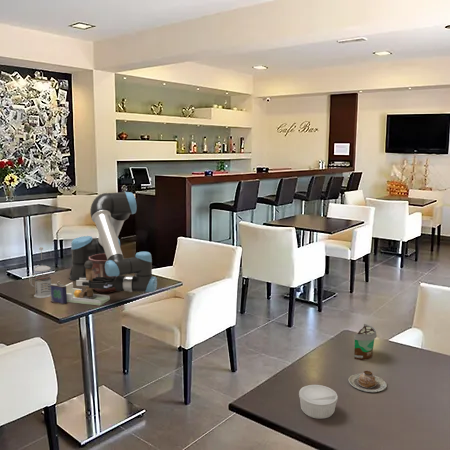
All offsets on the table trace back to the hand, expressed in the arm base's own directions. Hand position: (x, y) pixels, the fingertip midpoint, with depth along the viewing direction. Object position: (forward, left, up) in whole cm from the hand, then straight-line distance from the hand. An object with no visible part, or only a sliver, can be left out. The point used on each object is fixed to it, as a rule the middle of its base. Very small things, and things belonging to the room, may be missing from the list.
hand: (78, 281), depth 237 cm
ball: (-1, -1, -7) cm, 7 cm away
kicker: (-1, +5, -8) cm, 9 cm away
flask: (+5, -7, -10) cm, 13 cm away
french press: (-2, -23, -10) cm, 25 cm away
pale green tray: (-1, +3, -10) cm, 10 cm away
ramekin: (+68, +122, -10) cm, 140 cm away
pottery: (-20, +4, -10) cm, 23 cm away
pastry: (+47, +137, -10) cm, 145 cm away
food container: (+26, +136, -10) cm, 139 cm away
